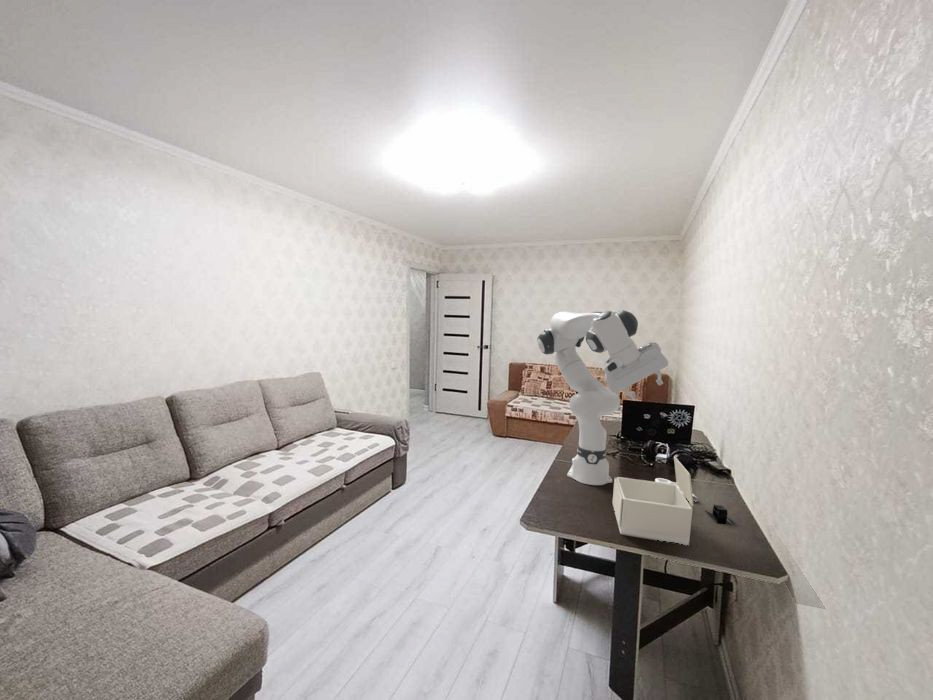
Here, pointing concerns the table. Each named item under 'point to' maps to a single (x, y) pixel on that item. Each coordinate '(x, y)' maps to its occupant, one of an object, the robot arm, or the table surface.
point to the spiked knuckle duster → (674, 484)
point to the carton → (651, 510)
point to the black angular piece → (719, 515)
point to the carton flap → (683, 480)
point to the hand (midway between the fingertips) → (647, 391)
